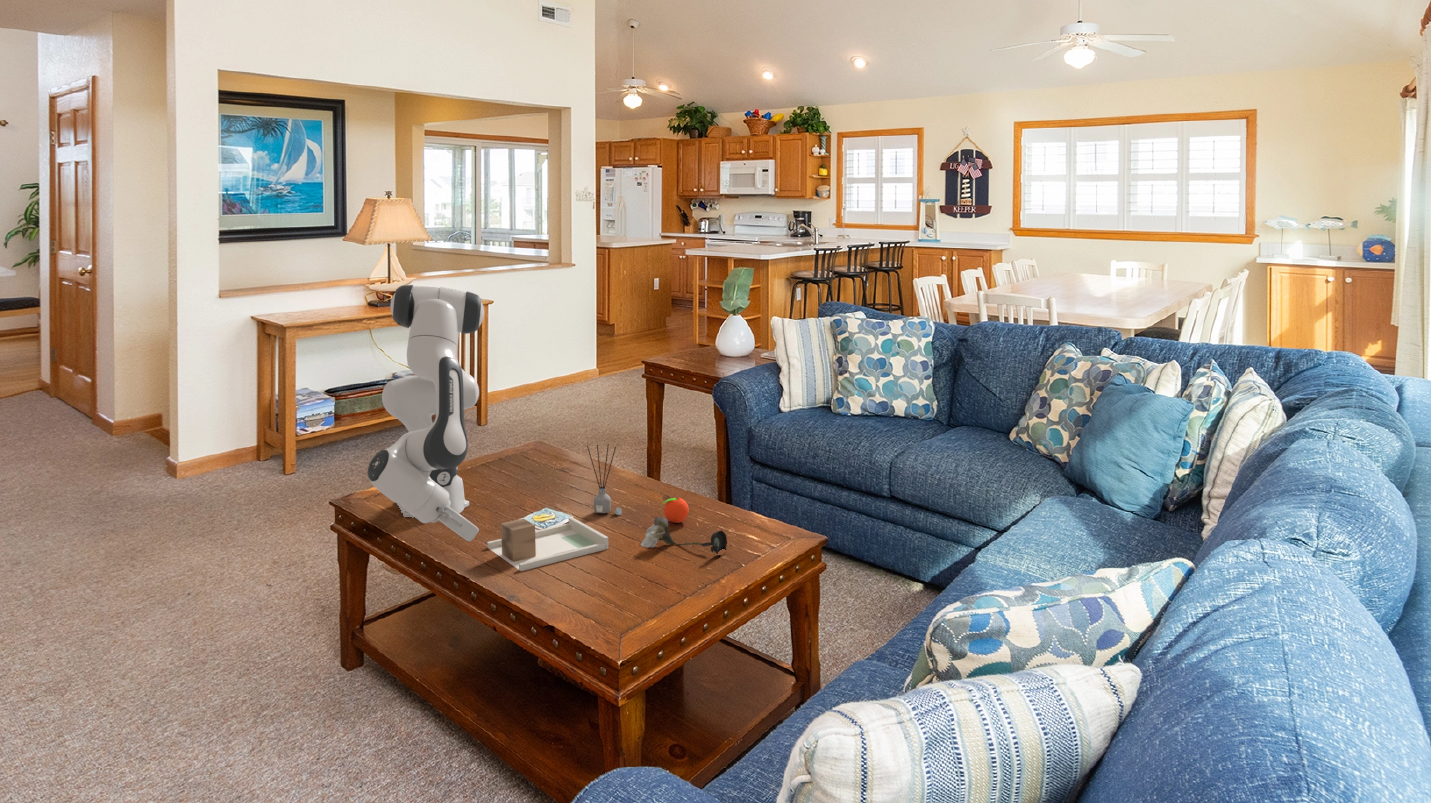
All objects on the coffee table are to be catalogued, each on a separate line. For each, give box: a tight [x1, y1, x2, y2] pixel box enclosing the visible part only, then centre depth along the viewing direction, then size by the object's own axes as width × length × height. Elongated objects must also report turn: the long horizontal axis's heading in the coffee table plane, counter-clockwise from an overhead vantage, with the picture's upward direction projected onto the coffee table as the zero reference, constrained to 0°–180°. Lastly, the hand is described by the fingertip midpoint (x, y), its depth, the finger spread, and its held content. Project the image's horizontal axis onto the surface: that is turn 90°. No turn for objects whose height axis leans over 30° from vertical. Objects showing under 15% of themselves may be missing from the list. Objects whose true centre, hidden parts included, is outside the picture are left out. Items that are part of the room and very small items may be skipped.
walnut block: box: [500, 517, 536, 562], centre depth 222 cm, size 6×6×8 cm
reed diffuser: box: [586, 443, 623, 516], centre depth 257 cm, size 10×7×20 cm
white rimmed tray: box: [486, 516, 609, 572], centre depth 228 cm, size 18×24×4 cm
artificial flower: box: [640, 516, 728, 555], centre depth 233 cm, size 9×22×10 cm, turn 62°
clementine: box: [660, 497, 690, 524], centre depth 252 cm, size 8×7×7 cm
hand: (472, 534), depth 214 cm, fingers closed
